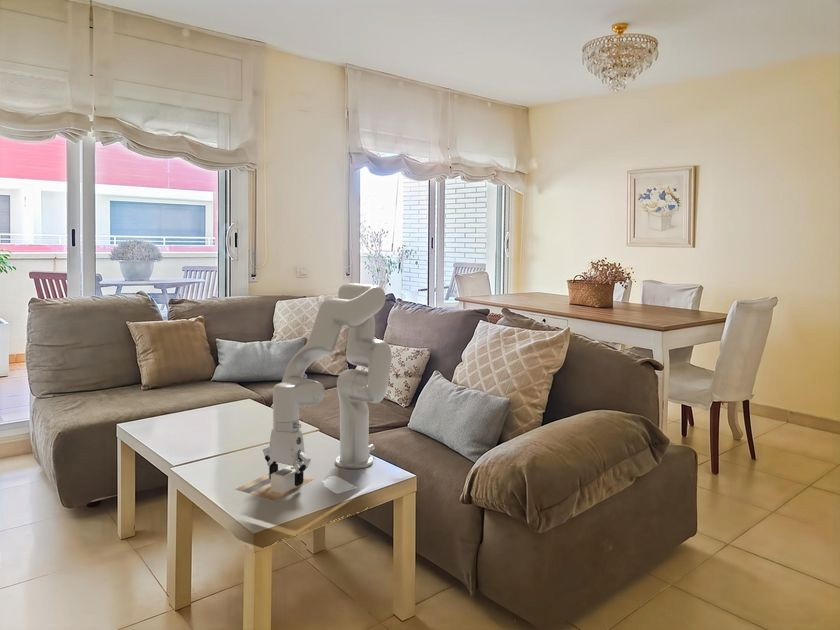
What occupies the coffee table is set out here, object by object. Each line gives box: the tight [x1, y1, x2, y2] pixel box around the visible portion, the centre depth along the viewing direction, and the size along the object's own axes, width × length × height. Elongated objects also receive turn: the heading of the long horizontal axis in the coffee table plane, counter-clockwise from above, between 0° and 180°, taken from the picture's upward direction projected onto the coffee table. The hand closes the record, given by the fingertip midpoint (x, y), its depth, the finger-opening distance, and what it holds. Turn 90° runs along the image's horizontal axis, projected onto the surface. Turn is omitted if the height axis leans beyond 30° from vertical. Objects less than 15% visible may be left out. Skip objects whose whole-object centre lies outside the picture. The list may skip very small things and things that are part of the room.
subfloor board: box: [235, 469, 315, 501], centre depth 185 cm, size 18×15×1 cm
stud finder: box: [271, 465, 300, 494], centre depth 183 cm, size 9×4×5 cm, turn 151°
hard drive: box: [321, 475, 358, 495], centre depth 186 cm, size 2×8×12 cm
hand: (286, 481), depth 182 cm, fingers open, 9 cm apart
